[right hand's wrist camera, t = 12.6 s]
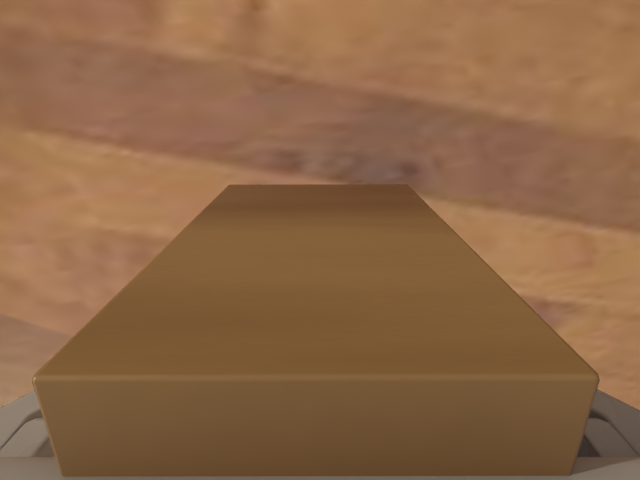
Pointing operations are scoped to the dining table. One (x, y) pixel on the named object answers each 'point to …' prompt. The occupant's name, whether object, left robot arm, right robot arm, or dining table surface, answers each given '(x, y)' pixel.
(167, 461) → the box
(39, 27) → the dining table surface
